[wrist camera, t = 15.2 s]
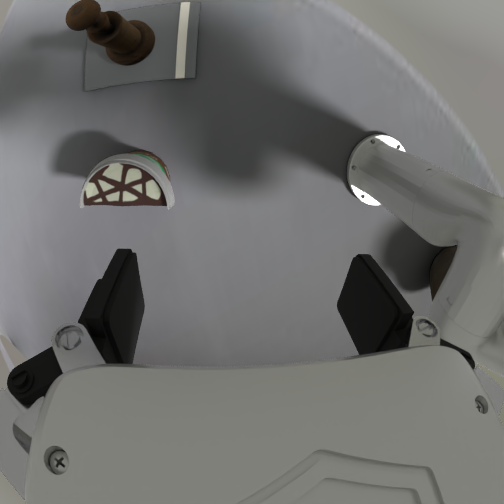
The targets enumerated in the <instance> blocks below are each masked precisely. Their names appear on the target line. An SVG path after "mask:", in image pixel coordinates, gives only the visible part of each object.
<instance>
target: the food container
mask: <svg viewBox="0 0 504 504" xmlns="http://www.w3.org/2000/svg"><path fill="white" fill-rule="evenodd" d="M174 204H175V202H174V194H173V189H172V187H171V184H170V175H169V172H168V170H167V167H166V165H165V164H164V163H163V161H162V160H161V159H160V158H159V157H157V156H156V155H154V154H153V153H151V152H147V151H141V150H139V151H133V152H130V153H128V154H117V155H114V156H110V157H108V158H106V159H104V160H102V161H101V162H100V163H98V164H97V165H96V166H95V167H94V168H93V169H92V171H91V172H90V174H89V175H88V177H87V179H86V181H85V183H84V185H83V188H82V191H81V197H80V209H81V208H83V207H84V206H85V205H89V206H90V205H113V206H139V205H151V206H167V210H168V209H169V208H171V207H172V206H173V205H174Z"/></svg>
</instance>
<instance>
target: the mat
mask: <svg viewBox="0 0 504 504" xmlns="http://www.w3.org/2000/svg"><path fill="white" fill-rule="evenodd" d="M200 5H201V2H181V3H173V4H162V5H154V6H146V7H139V8H133V9H128V10H123V11H118V12H117V13H119V14H120V15H121V16H122V17H124V18H125V19H126V20H127V21H130V20H139V21H142V22H144V23H146V24H147V25H148V26H149V27H150V28H151V29H152V30H153V32H154V35H155V45H154V48H153V50H152V52H151V53H150V54H149V55H148V56H147V57H146V58H145V59H144V60H143V61H141V62H139V63H137V64H134V65H129V66H125V65H120V64H118V63H115V62H113V61H112V60H111V59H110V58H109V57H108V56H107V53H106V48H105V47H103V46H101V45H98V44H96V43H93V42H92V41H90V40H89V38H88V35H87V45H86V59H85V90H84V91H91V90H95V89H101V88H106V87H111V86H117V85H124V84H131V83H138V82H147V81H156V80H168V79H185V78H195V74H196V55H197V40H198V27H199V15H200Z"/></svg>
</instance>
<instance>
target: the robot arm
mask: <svg viewBox="0 0 504 504" xmlns="http://www.w3.org/2000/svg"><path fill="white" fill-rule="evenodd" d="M352 166H353V167H352ZM347 179H348V184H349V187H350V189H351V190H352V192H353V194H354V195H355V196H356V197H357V198H358V199H360V200H361V201H363V202H364V203H366V204H370V205H380V204H381V205H382V206H384V207H385V208H386V209H387V210H389V211H390V212H391V213H393V214H394V215H395V216H396V217H398V218H399V219H400V220H401V221H403V222H404V223H405V224H406V225H407V226H409V227H410V228H411V229H412V230H413V231H415V232H416V233H417V234H418V235H419V236H421V237H422V238H423V239H424V240H426V241H427V242H428V243H430V244H433V245H436V246H453V245H458V247H457V251H456V253H455V256H454V258H453V261H452V263H451V265H450V268H449V270H448V272H447V274H446V276H445V278H444V280H443V282H442V284H441V286H440V287H439V290H438V291H437V293H436V295H435V297H434V299H433V301H432V304H431V307H430V311H429V318H427V317H423V316H419V317H416V318H415V319H414V320H413V318H412V315H413V313H414V311H413V310H412V309H411V307H410V306H409V304H408V303H407V302H406V300H405V299H404V298H403V296H402V295H401V294H400V292H399V291H398V290H397V288H396V287H395V286H394V284H393V283H392V282H391V280H390V279H389V278H388V277H387V275H386V274H385V273H384V271H383V270H382V269H381V268H380V266H379V265H378V264H377V263H376V261H375V260H374V259H373V258H372V256H371V255H369V254H358V255H357V256H356V257H354V258H353V260H352V262H351V265H350V268H349V271H348V274H347V277H346V280H345V283H344V286H343V289H342V291H341V294H340V297H339V300H338V302H337V309H338V311H339V313H340V315H341V317H342V319H343V321H344V323H345V325H346V327H347V330H348V332H349V334H350V336H351V338H352V340H353V342H354V344H355V346H356V348H357V351H358V353H359V355H358V356H351V357H344V358H336V359H328V360H319V361H310V362H299V363H287V364H273V365H255V366H164V365H144V364H132V363H133V358H134V353H135V349H136V344H137V339H138V335H139V330H140V326H141V322H142V317H143V313H144V306H145V305H144V298H143V293H142V287H141V281H140V275H139V269H138V262H137V256H136V253H132V250H131V249H117V250H116V252H115V254H114V256H113V258H112V260H111V262H110V264H109V266H108V268H107V270H106V272H105V274H104V276H103V278H102V279H99V280H98V281H97V282H96V284H95V286H94V288H93V290H92V292H91V294H90V297H89V299H88V301H87V303H86V305H85V307H84V310H83V312H82V314H81V316H80V319H79V321H78V323H76V322H70V323H66V324H63V325H61V326H60V327H58V328H57V329H56V330H55V332H54V333H53V335H52V339H51V343H52V347H50V348H48V349H47V350H45V351H43V352H41V353H40V354H38V355H36V356H34V357H32V358H31V359H29V360H27V361H25V362H24V363H22V364H20V365H18V366H17V367H15V368H14V369H13V370H12V371H11V372H10V374H9V377H8V380H7V386H8V387H7V389H5V390H4V389H3V388H2V389H1V390H0V471H1V472H2V473H3V475H4V476H5V477H6V478H7V480H8V481H9V482H10V484H11V485H12V486H13V487H14V488H15V490H16V491H17V492H18V493H19V494H20V495H21V497H22V498H23V499H24V500H25V504H504V427H503V425H502V422H501V420H500V418H499V415H500V412H501V409H502V405H503V402H504V390H503V388H502V387H501V386H500V385H499V384H498V383H497V382H496V381H495V380H493V379H492V378H491V377H490V376H489V375H488V374H486V373H485V372H484V371H483V370H481V369H480V368H479V367H476V368H475V362H476V363H478V364H480V365H482V366H484V367H485V368H487V369H489V370H491V371H493V372H495V373H496V374H498V375H500V376H502V377H504V197H501V196H499V195H496V194H494V193H491V192H489V191H487V190H485V189H482V188H480V187H478V186H476V185H474V184H472V183H470V182H468V181H466V180H464V179H462V178H460V177H458V176H456V175H454V174H452V173H450V172H448V171H446V170H444V169H442V168H440V167H438V166H436V165H433V164H431V163H429V162H427V161H425V160H423V159H420V158H418V157H416V156H414V155H411V154H409V153H407V152H405V149H404V148H403V146H402V145H401V144H400V143H399V142H398V141H397V140H396V139H394V138H393V137H390V136H388V135H384V134H375V135H371V136H368V137H366V138H364V139H363V140H362V141H361V142H359V143H358V145H357V146H356V147H355V148H354V150H353V152H352V153H351V155H350V158H349V161H348V166H347Z"/></svg>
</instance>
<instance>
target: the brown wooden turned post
mask: <svg viewBox="0 0 504 504" xmlns="http://www.w3.org/2000/svg"><path fill="white" fill-rule="evenodd" d="M66 23H67V25H68V27H69V28H71V29H72V30H76V31H81V30H85V29H86V30H87V35H88V38H89V40H90V41H92V42H93V43H96V44H98V45H101V46H103V47H105V48H106V53H107V56H108V57H109V58H110V59H111V60H112V61H113V62H115V63H118V64H120V65H125V66H129V65H134V64H137V63H139V62H141V61H143V60H144V59H145V58H146V57H147V56H148V55H149V54H150V53H151V52H152V50H153V48H154V45H155V35H154V32H153V30H152V29H151V28H150V27H149V26H148V25H147V24H146V23H144V22H142V21H139V20H130V21H127V20H126V19H125V18H124V17H122V16H121V15H120V14H119V13H117V12H115V11H107V12H101V8H100V5H99V4H98V3H97V2H96V1H95V0H81V1H79V2H77V3H75V4H74V5H73V6H72V7H71V8H70V9H69V11H68V12H67V15H66Z"/></svg>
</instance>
